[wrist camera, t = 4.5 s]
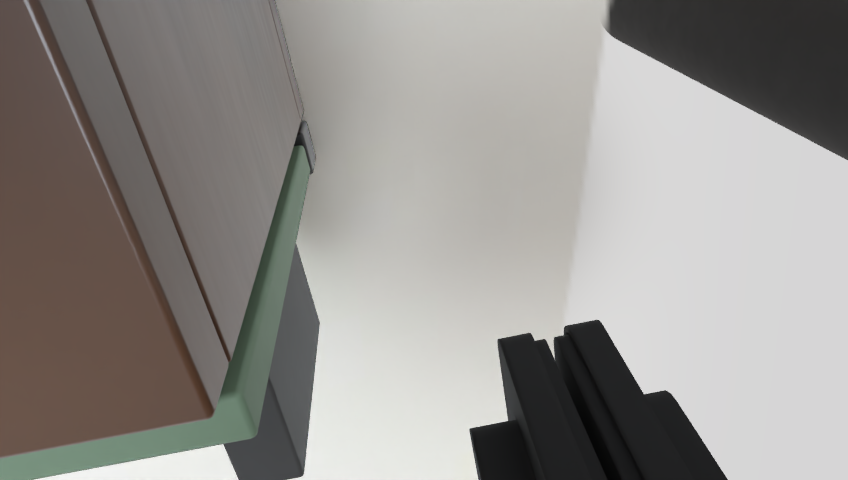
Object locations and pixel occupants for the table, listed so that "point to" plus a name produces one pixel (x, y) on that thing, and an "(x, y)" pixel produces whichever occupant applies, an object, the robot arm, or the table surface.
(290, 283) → the door
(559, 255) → the table surface
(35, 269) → the cabinet
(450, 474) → the table surface
